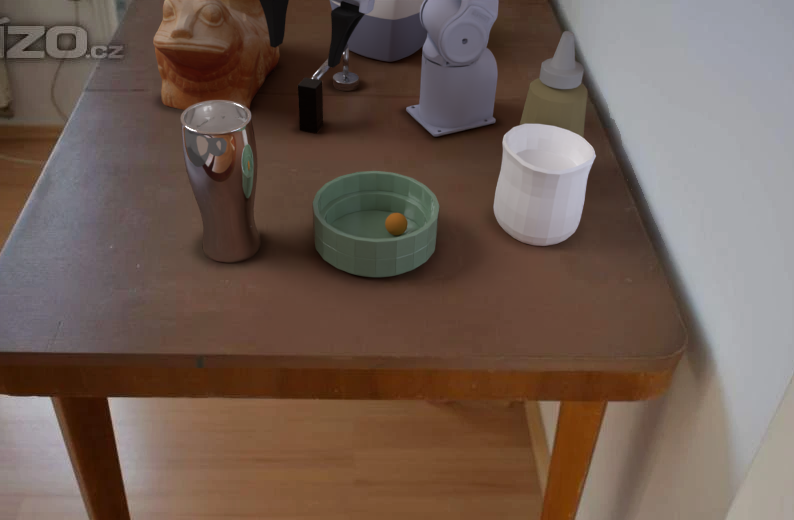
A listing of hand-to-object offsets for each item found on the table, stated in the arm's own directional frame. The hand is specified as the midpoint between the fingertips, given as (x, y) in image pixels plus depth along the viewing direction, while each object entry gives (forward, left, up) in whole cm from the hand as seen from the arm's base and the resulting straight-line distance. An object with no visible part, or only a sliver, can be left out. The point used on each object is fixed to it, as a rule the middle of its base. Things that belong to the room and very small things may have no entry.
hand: (304, 54), depth 101 cm
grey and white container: (-21, -20, -10) cm, 30 cm away
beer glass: (+17, +19, -10) cm, 28 cm away
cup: (-15, +29, -10) cm, 35 cm away
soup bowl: (+3, +25, -10) cm, 28 cm away
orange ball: (+1, +25, -8) cm, 27 cm away
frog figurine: (+6, -17, -10) cm, 20 cm away
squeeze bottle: (-21, +22, -10) cm, 32 cm away
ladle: (-5, -5, -10) cm, 13 cm away
